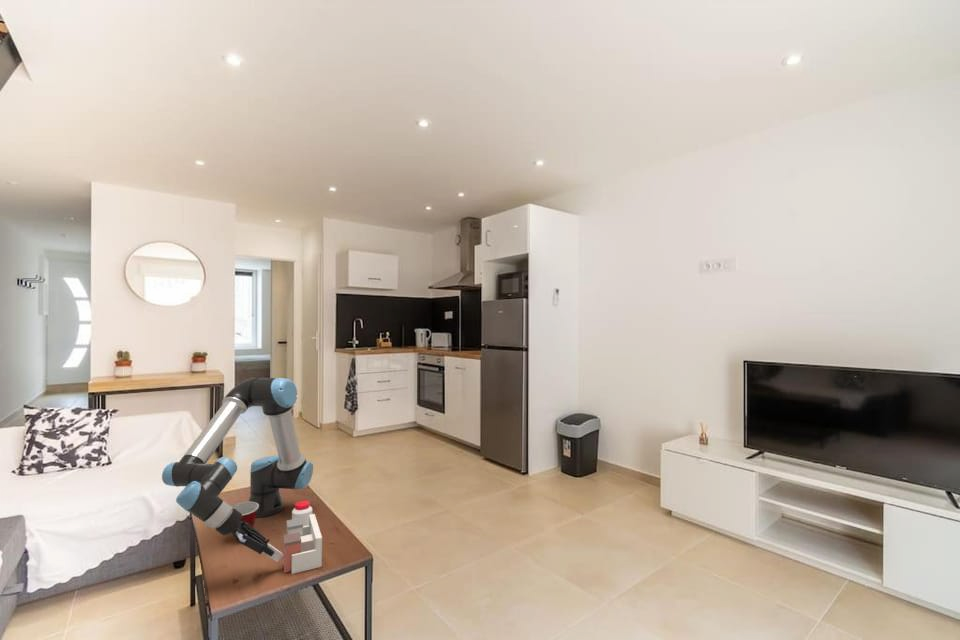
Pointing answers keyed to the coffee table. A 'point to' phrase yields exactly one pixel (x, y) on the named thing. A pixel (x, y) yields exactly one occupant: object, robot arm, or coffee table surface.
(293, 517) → the pill bottle
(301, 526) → the grey capped white pillar
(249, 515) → the plastic cup
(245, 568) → the coffee table surface
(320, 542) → the rack
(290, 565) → the capped red pillar
